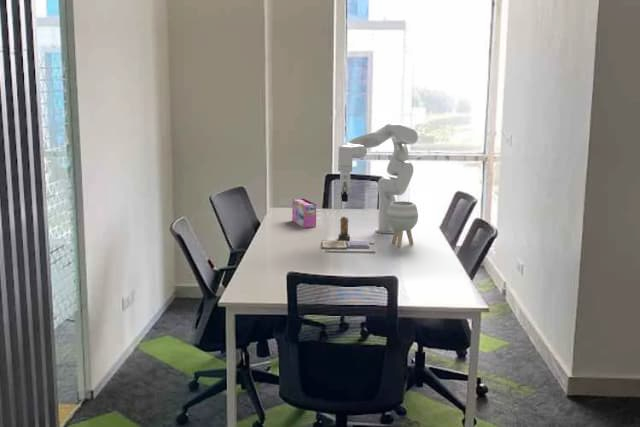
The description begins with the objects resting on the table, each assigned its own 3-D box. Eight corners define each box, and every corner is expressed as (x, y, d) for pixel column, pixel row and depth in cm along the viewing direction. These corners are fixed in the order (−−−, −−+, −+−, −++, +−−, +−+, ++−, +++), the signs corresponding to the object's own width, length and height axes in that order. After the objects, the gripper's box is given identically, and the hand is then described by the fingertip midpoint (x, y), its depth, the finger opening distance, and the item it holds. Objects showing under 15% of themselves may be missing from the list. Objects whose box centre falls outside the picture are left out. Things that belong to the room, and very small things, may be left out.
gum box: (291, 220, 432) (291, 198, 429) (303, 219, 434) (303, 198, 432) (303, 228, 410) (304, 205, 407) (316, 227, 412) (316, 204, 410)
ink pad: (368, 243, 372) (368, 240, 372) (369, 248, 361) (369, 245, 361) (347, 243, 372) (347, 240, 372) (348, 248, 361) (348, 245, 361)
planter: (397, 249, 359) (398, 206, 355) (380, 243, 373) (381, 201, 369) (423, 246, 366) (424, 204, 362) (405, 240, 380) (406, 199, 376)
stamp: (349, 238, 384) (349, 215, 382) (349, 240, 378) (350, 217, 376) (338, 238, 384) (338, 215, 382) (338, 240, 378) (339, 217, 376)
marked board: (346, 242, 374) (346, 240, 374) (347, 249, 359) (347, 247, 359) (321, 241, 374) (322, 240, 374) (321, 248, 359) (321, 247, 359)
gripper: (352, 170, 366) (352, 202, 369) (351, 166, 383) (350, 197, 386) (338, 170, 366) (337, 202, 369) (337, 166, 383) (337, 197, 386)
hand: (344, 200), depth 377 cm, fingers open, 9 cm apart
